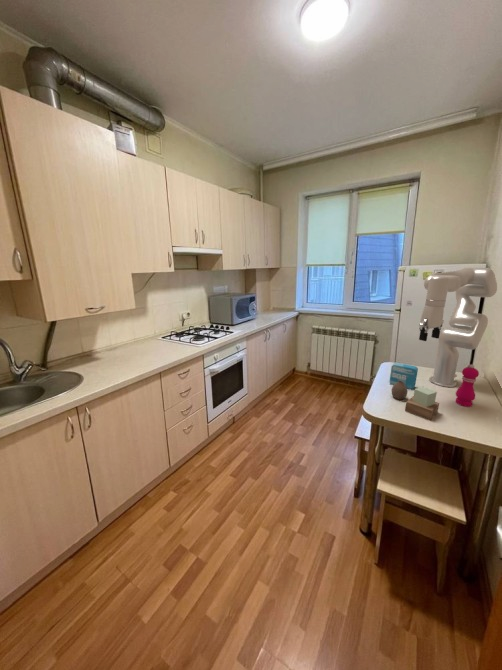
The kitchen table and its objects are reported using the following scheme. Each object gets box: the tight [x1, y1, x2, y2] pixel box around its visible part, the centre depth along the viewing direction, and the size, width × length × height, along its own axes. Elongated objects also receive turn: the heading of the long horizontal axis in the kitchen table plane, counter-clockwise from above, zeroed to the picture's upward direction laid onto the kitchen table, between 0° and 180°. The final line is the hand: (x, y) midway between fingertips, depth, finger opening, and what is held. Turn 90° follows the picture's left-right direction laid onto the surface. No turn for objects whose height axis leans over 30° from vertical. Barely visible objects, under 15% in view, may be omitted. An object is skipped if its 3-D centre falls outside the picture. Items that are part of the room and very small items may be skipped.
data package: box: [389, 362, 419, 390], centre depth 144 cm, size 12×4×12 cm, turn 52°
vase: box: [391, 381, 408, 400], centre depth 131 cm, size 7×7×9 cm
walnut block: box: [404, 395, 440, 421], centre depth 119 cm, size 10×10×5 cm
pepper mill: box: [455, 363, 480, 408], centre depth 123 cm, size 7×7×20 cm
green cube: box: [412, 386, 438, 407], centre depth 117 cm, size 6×6×6 cm
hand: (428, 339), depth 125 cm, fingers open, 9 cm apart
